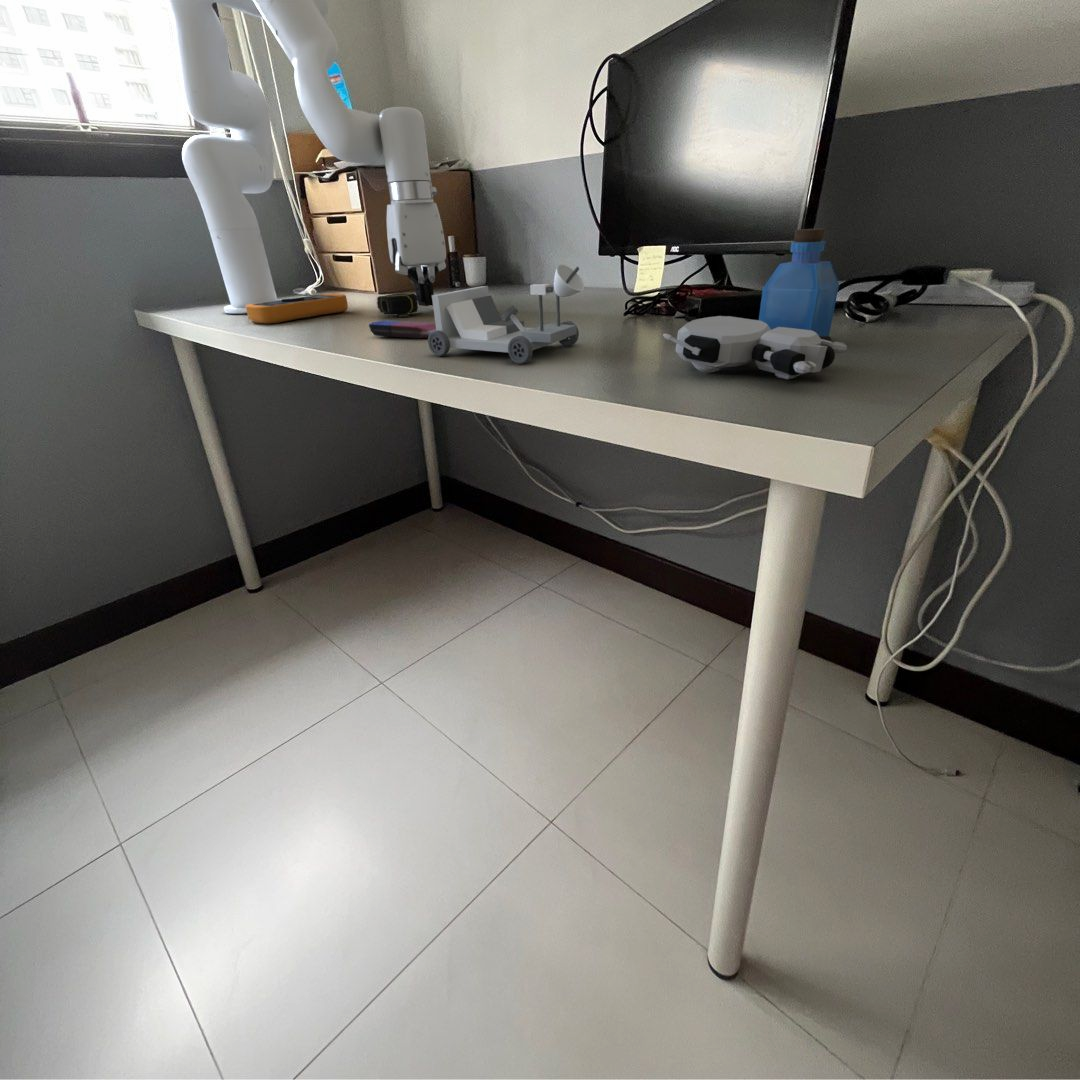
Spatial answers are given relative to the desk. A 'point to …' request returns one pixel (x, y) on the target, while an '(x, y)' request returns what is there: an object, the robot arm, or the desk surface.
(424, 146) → the robot arm
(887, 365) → the desk surface
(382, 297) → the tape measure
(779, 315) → the perfume bottle
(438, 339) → the toy car
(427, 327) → the eraser
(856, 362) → the desk surface
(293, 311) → the multimeter
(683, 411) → the desk surface
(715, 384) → the desk surface
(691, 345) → the robot toy
